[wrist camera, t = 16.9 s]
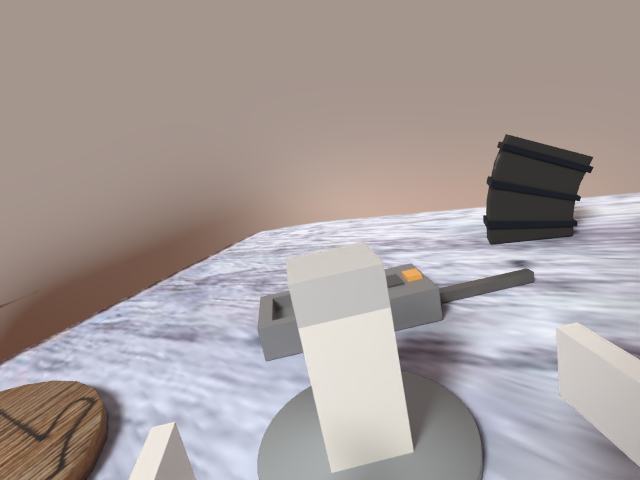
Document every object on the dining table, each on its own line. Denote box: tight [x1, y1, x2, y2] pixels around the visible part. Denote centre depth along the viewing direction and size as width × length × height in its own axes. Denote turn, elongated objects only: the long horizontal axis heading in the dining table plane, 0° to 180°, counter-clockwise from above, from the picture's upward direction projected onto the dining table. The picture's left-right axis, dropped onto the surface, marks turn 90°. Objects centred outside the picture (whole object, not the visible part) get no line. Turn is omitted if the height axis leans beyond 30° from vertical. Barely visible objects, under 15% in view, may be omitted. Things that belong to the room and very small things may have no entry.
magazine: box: [483, 134, 593, 244], centre depth 55 cm, size 4×13×15 cm, turn 76°
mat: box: [257, 371, 483, 480], centre depth 25 cm, size 14×14×1 cm
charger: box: [286, 242, 414, 473], centre depth 23 cm, size 5×4×12 cm
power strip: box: [258, 264, 534, 361], centre depth 42 cm, size 30×8×4 cm, turn 96°
